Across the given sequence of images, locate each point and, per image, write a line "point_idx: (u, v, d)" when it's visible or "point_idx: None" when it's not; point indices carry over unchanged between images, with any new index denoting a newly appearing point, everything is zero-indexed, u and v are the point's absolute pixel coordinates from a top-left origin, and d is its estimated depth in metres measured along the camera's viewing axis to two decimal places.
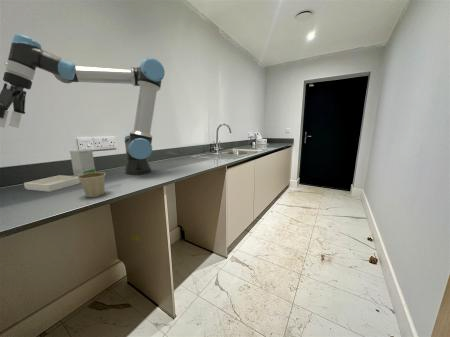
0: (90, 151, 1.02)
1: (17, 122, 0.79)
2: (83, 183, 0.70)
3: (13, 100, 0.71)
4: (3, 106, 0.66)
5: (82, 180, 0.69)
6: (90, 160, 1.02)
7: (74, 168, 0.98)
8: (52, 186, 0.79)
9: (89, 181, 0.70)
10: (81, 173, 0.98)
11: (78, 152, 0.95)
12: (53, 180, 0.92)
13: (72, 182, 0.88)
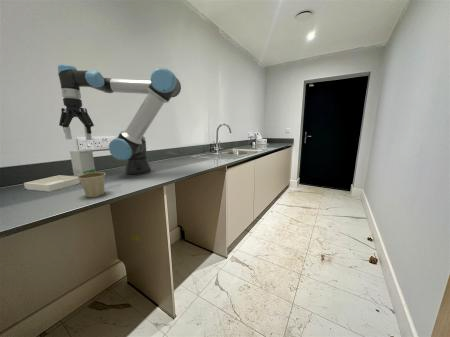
0: (90, 151, 1.02)
1: (70, 135, 1.00)
2: (83, 183, 0.70)
3: None
4: (93, 125, 0.95)
5: (82, 180, 0.69)
6: (90, 160, 1.02)
7: (74, 168, 0.98)
8: (52, 186, 0.79)
9: (89, 181, 0.70)
10: (81, 173, 0.98)
11: (78, 152, 0.95)
12: (53, 180, 0.92)
13: (72, 182, 0.88)
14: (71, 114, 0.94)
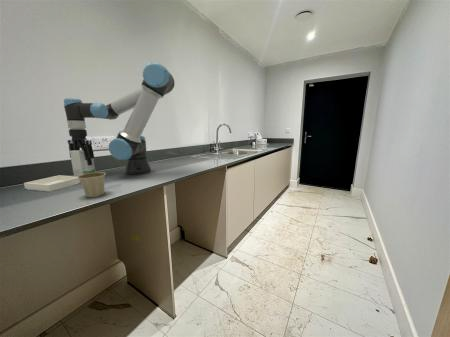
0: None
1: None
2: (83, 183, 0.70)
3: None
4: (93, 157, 1.00)
5: (82, 180, 0.69)
6: None
7: (74, 168, 0.98)
8: (52, 186, 0.79)
9: (89, 181, 0.70)
10: (81, 173, 0.97)
11: (78, 152, 0.95)
12: (53, 180, 0.92)
13: (72, 182, 0.88)
14: (76, 144, 0.98)
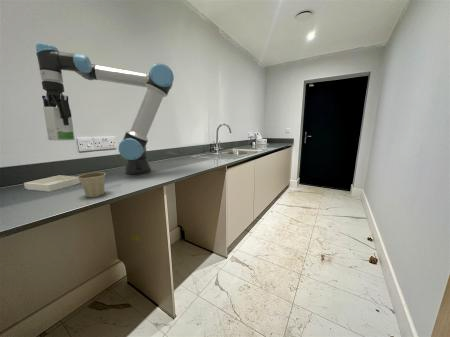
0: None
1: None
2: (83, 183, 0.70)
3: None
4: (70, 116, 0.87)
5: (82, 180, 0.69)
6: None
7: (48, 127, 0.85)
8: (52, 186, 0.79)
9: (89, 181, 0.70)
10: (55, 133, 0.85)
11: (52, 108, 0.83)
12: (53, 180, 0.92)
13: (72, 182, 0.88)
14: (51, 100, 0.85)
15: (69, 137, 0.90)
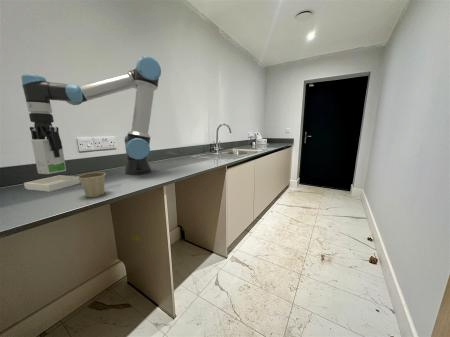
0: None
1: None
2: (83, 183, 0.70)
3: None
4: (61, 147, 0.83)
5: (82, 180, 0.69)
6: None
7: (37, 161, 0.81)
8: (52, 186, 0.79)
9: (89, 181, 0.70)
10: (45, 167, 0.81)
11: (41, 141, 0.79)
12: (53, 180, 0.92)
13: (72, 182, 0.88)
14: (40, 131, 0.81)
15: (60, 169, 0.86)
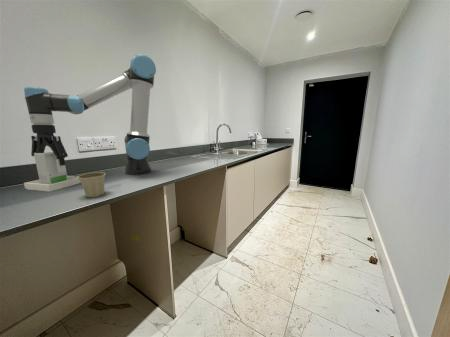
0: None
1: None
2: (83, 183, 0.70)
3: None
4: (67, 155, 0.83)
5: (82, 180, 0.69)
6: None
7: (40, 174, 0.82)
8: (52, 186, 0.79)
9: (89, 181, 0.70)
10: (48, 180, 0.82)
11: (43, 155, 0.80)
12: None
13: (72, 182, 0.88)
14: (42, 142, 0.82)
15: None
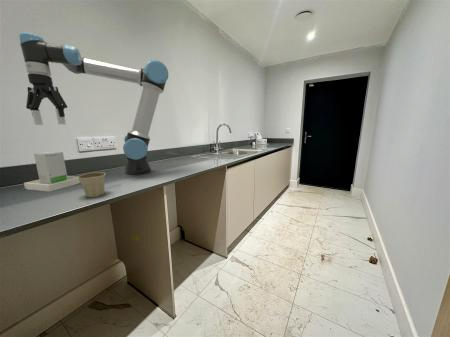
0: (60, 154, 0.86)
1: (40, 119, 0.86)
2: (83, 183, 0.70)
3: None
4: (66, 106, 0.81)
5: (82, 180, 0.69)
6: (60, 165, 0.86)
7: (40, 174, 0.82)
8: (52, 186, 0.79)
9: (89, 181, 0.70)
10: (48, 180, 0.82)
11: (43, 155, 0.80)
12: None
13: (72, 182, 0.88)
14: (39, 94, 0.80)
15: None
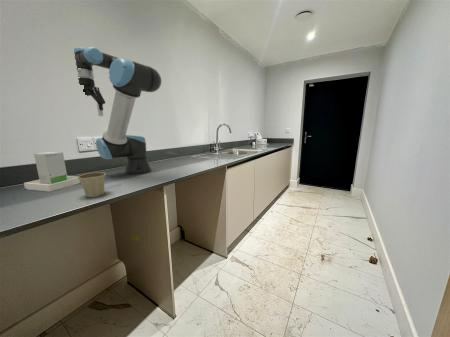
0: (60, 154, 0.86)
1: None
2: (83, 183, 0.70)
3: None
4: (104, 102, 1.07)
5: (82, 180, 0.69)
6: (60, 165, 0.86)
7: (40, 174, 0.82)
8: (52, 186, 0.79)
9: (89, 181, 0.70)
10: (48, 180, 0.82)
11: (43, 155, 0.80)
12: None
13: (72, 182, 0.88)
14: (85, 93, 1.06)
15: None
